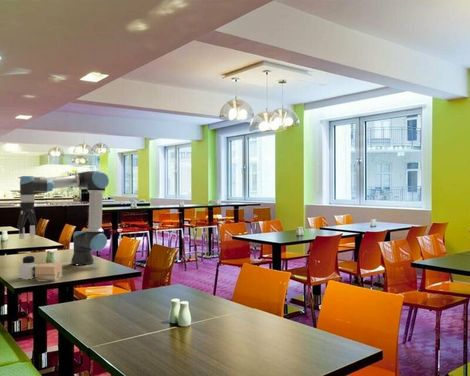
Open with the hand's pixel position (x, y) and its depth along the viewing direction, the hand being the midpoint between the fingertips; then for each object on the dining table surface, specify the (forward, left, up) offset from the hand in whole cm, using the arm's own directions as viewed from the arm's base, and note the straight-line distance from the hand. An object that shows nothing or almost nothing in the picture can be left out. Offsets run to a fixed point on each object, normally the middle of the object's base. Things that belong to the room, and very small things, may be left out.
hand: (27, 237), depth 263 cm
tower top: (+3, +14, -20) cm, 25 cm away
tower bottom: (+3, +14, -25) cm, 28 cm away
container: (0, 0, -25) cm, 25 cm away
